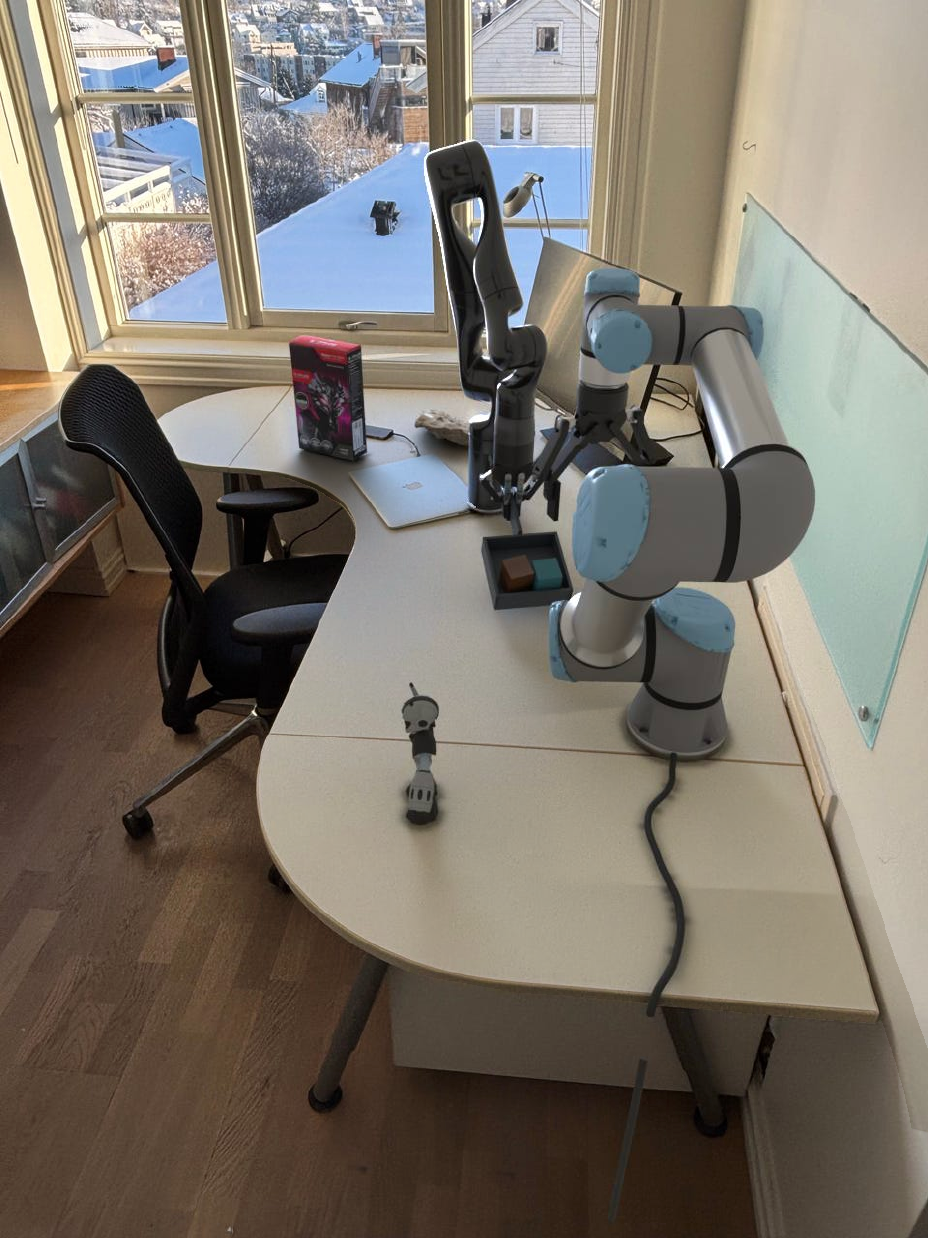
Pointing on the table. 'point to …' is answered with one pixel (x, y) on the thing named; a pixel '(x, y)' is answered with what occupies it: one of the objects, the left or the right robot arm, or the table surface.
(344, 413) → the graphics card box
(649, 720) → the right robot arm
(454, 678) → the table surface
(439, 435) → the stone
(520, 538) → the tray
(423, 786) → the robot
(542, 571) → the teal block
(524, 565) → the walnut block
